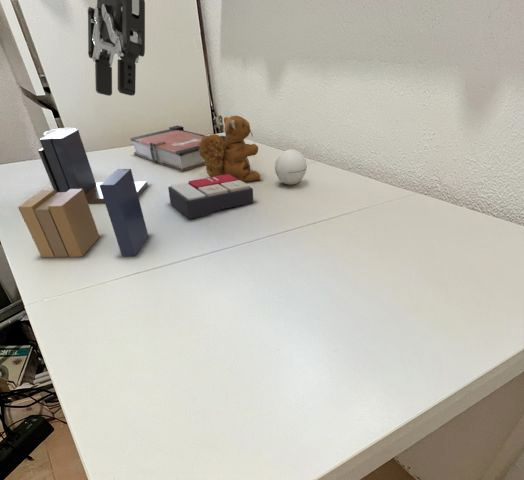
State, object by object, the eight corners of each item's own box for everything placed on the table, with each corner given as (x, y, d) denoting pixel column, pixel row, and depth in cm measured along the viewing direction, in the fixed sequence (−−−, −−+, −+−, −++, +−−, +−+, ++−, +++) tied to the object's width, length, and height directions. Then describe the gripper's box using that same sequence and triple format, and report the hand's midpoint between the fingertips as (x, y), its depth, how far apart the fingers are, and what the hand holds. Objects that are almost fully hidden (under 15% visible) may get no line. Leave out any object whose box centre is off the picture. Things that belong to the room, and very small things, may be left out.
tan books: (41, 257, 68) (17, 207, 62) (62, 237, 74) (42, 189, 68) (82, 256, 67) (62, 205, 61) (99, 236, 73) (82, 188, 67)
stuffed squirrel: (263, 180, 93) (260, 118, 84) (206, 188, 91) (197, 125, 82) (254, 168, 100) (250, 110, 91) (200, 175, 98) (192, 116, 89)
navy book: (121, 256, 66) (99, 185, 59) (136, 236, 72) (117, 169, 64) (135, 256, 66) (114, 184, 58) (148, 235, 72) (131, 168, 64)
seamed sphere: (279, 191, 87) (278, 156, 82) (272, 180, 92) (271, 147, 87) (321, 185, 88) (323, 150, 83) (311, 175, 93) (312, 142, 89)
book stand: (53, 204, 88) (27, 141, 79) (74, 187, 96) (53, 129, 87) (133, 202, 86) (116, 137, 77) (148, 185, 94) (133, 125, 86)
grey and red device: (253, 184, 80) (186, 197, 74) (254, 205, 83) (189, 219, 77) (229, 172, 87) (166, 182, 81) (230, 191, 90) (169, 203, 84)
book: (132, 155, 116) (127, 136, 112) (180, 142, 124) (177, 125, 121) (180, 172, 101) (176, 151, 97) (231, 156, 109) (229, 137, 106)
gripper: (65, -56, 51) (71, 88, 58) (104, -90, 42) (106, 86, 49) (121, -30, 56) (121, 101, 62) (167, -55, 46) (161, 101, 53)
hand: (114, 94), depth 55 cm, fingers open, 8 cm apart
